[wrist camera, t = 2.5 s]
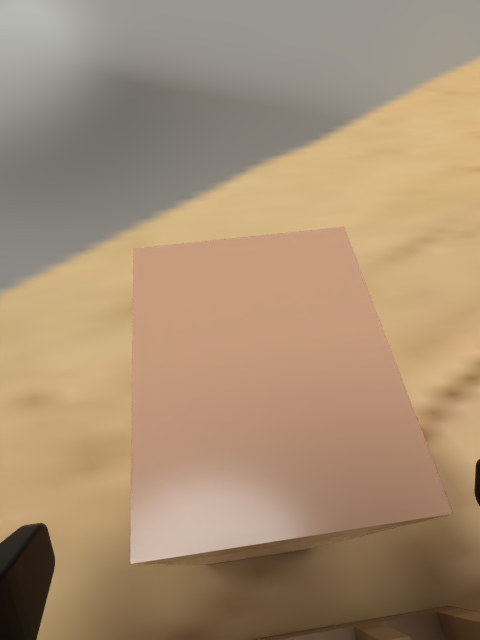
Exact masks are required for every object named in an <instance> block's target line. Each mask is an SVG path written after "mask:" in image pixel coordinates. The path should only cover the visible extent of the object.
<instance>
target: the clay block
mask: <svg viewBox="0 0 480 640" xmlns="http://www.w3.org/2000/svg"><path fill="white" fill-rule="evenodd" d="M450 514H453V512H452V509H451V507H450V504H449V501H448V499H447V496H446V493H445V491H444V488H443V485H442V483H441V480H440V478H439V475H438V472H437V470H436V467H435V464H434V462H433V459H432V457H431V454H430V451H429V449H428V446H427V443H426V441H425V438H424V436H423V433H422V430H421V428H420V425H419V422H418V420H417V417H416V415H415V412H414V409H413V407H412V404H411V401H410V399H409V396H408V394H407V391H406V388H405V386H404V383H403V380H402V378H401V375H400V372H399V370H398V367H397V365H396V362H395V359H394V357H393V354H392V351H391V349H390V346H389V344H388V341H387V338H386V336H385V333H384V330H383V328H382V325H381V323H380V320H379V317H378V315H377V312H376V309H375V307H374V304H373V302H372V299H371V296H370V294H369V291H368V288H367V286H366V283H365V281H364V278H363V275H362V273H361V270H360V267H359V265H358V262H357V260H356V257H355V254H354V252H353V249H352V246H351V244H350V241H349V238H348V236H347V233H346V231H345V228H344V227H339V228H329V229H319V230H310V231H300V232H290V233H281V234H271V235H261V236H251V237H242V238H232V239H222V240H213V241H203V242H193V243H183V244H174V245H164V246H154V247H145V248H135V249H133V342H132V438H131V533H130V564H172V565H209V564H215V563H222V562H228V561H234V560H241V559H247V558H253V557H259V556H266V555H272V554H278V553H285V552H291V551H297V550H304V549H310V548H314V547H318V546H323V545H327V544H331V543H335V542H339V541H343V540H347V539H351V538H355V537H359V536H364V535H368V534H372V533H376V532H380V531H384V530H388V529H392V528H396V527H400V526H405V525H409V524H413V523H417V522H421V521H425V520H429V519H433V518H437V517H441V516H446V515H450Z"/></svg>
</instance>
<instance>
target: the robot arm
mask: <svg viewBox="0 0 480 640" xmlns="http://www.w3.org/2000/svg"><path fill="white" fill-rule="evenodd" d="M475 497H476V500H477V502H478V504H479V506H480V459H479V460H478V461H477V463H476V474H475ZM54 567H55V556H54V552H53V548H52V544H51V540H50V536H49V532H48V529H47V527H46V525H45V524H43V523H37V524H30V525H24V526H22V527H20V528H19V529H17V530H16V531H15V532H14V533H12V534H11V535H10V536H9V537H7V538H6V539H5V540H4V541H2V542H1V543H0V640H36V639H37V635H38V631H39V627H40V623H41V619H42V616H43V612H44V608H45V604H46V600H47V596H48V592H49V588H50V584H51V580H52V576H53V572H54Z"/></svg>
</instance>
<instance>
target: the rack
mask: <svg viewBox="0 0 480 640" xmlns="http://www.w3.org/2000/svg"><path fill="white" fill-rule="evenodd" d="M255 640H480V612H476V611H471V610H466V609H462V608H457V607H452V606H447V607H441V608H435V609H429V610H423V611H418V612H412V613H406V614H400V615H394V616H389V617H383V618H377V619H371V620H365V621H360V622H354V623H348V624H342V625H336V626H331V627H325V628H319V629H313V630H307V631H302V632H296V633H290V634H284V635H279V636H273V637H267V638H261V639H255Z"/></svg>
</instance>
